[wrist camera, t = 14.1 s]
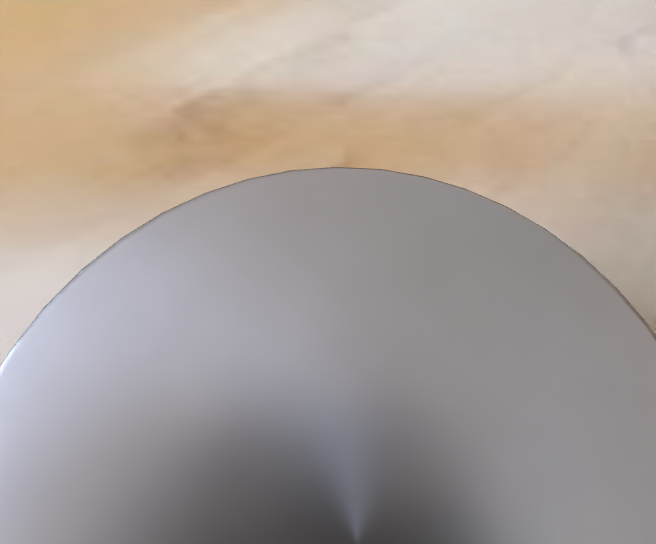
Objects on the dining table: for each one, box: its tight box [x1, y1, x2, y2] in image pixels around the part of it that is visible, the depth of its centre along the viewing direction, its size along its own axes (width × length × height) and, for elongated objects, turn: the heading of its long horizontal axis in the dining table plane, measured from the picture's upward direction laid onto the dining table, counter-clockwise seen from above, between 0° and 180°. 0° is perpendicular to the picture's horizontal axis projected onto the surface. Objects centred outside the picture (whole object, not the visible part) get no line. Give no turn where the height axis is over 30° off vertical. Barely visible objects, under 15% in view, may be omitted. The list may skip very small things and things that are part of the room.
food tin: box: [0, 167, 656, 544], centre depth 9 cm, size 6×6×12 cm
